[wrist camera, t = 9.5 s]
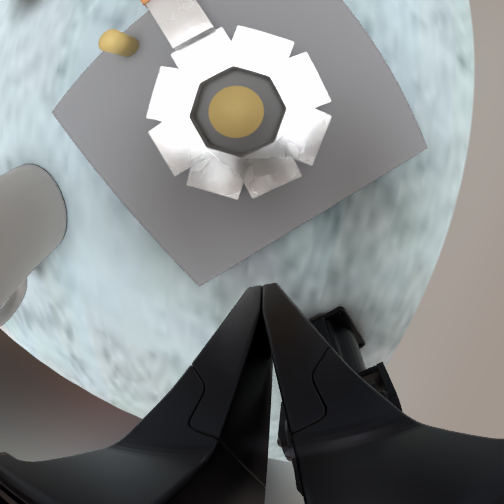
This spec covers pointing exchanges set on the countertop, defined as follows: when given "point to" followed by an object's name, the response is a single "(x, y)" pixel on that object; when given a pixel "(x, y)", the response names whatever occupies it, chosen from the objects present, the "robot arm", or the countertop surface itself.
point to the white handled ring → (208, 68)
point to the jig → (239, 129)
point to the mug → (26, 230)
